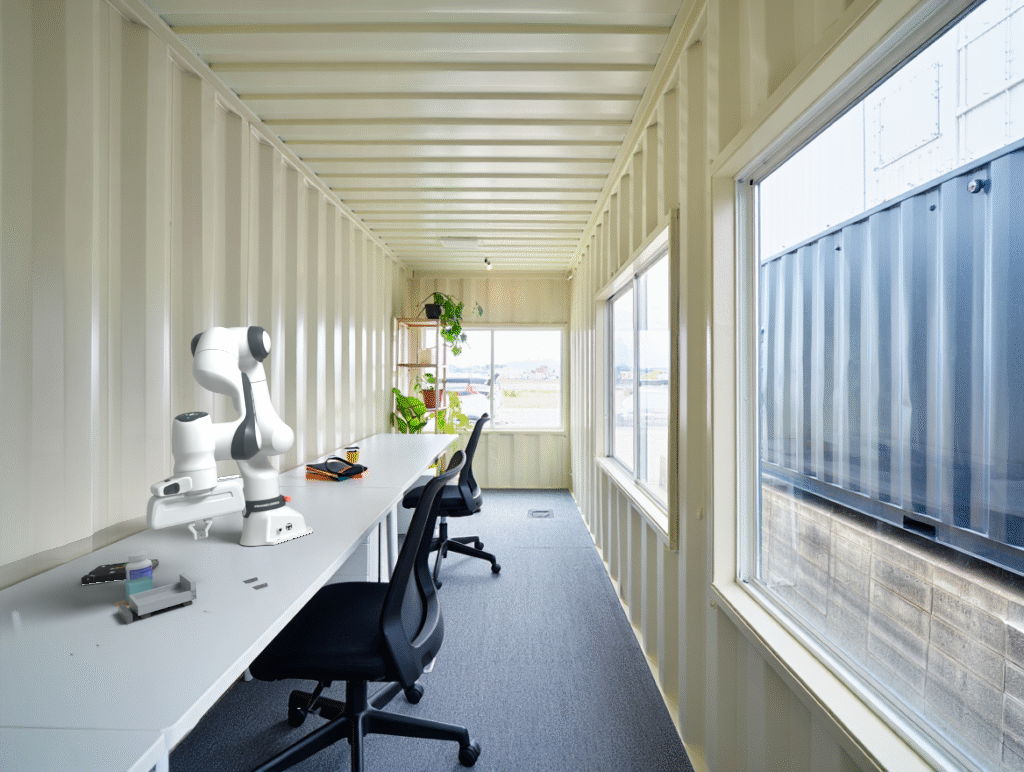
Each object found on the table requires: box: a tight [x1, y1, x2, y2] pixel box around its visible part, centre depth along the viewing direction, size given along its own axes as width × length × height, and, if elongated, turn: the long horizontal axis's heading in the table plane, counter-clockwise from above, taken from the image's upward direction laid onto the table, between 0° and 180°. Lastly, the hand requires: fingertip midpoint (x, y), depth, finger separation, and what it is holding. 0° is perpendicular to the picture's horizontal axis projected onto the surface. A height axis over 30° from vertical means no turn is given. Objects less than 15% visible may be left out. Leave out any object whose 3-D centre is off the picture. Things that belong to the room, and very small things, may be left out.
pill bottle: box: [125, 550, 154, 581], centre depth 131 cm, size 5×5×10 cm
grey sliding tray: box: [129, 572, 197, 620], centre depth 118 cm, size 11×9×6 cm
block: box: [124, 576, 154, 603], centre depth 123 cm, size 4×4×4 cm
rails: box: [118, 577, 269, 625], centre depth 123 cm, size 29×8×3 cm, turn 137°
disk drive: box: [80, 558, 160, 585], centre depth 144 cm, size 10×3×15 cm
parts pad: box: [113, 599, 131, 610], centre depth 123 cm, size 9×6×1 cm, turn 137°
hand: (200, 538), depth 124 cm, fingers closed
